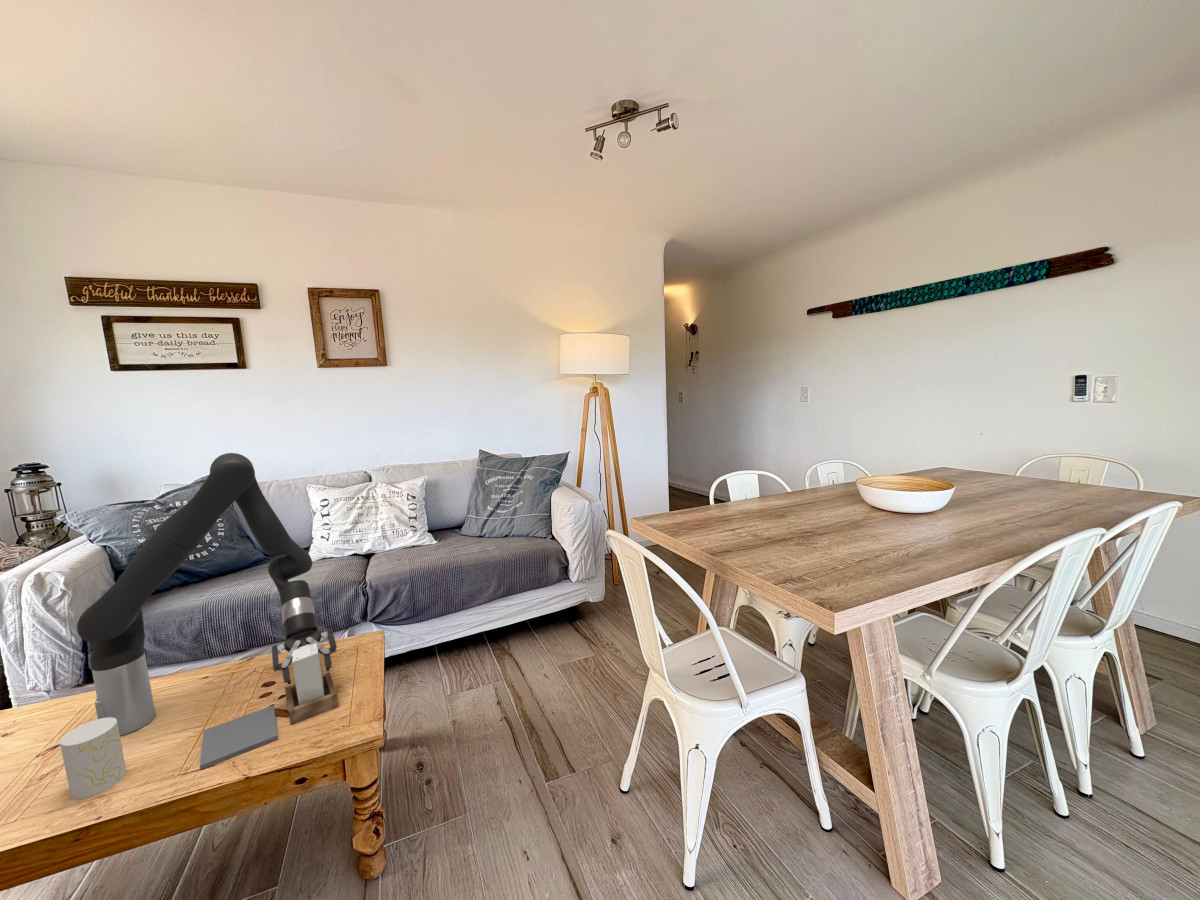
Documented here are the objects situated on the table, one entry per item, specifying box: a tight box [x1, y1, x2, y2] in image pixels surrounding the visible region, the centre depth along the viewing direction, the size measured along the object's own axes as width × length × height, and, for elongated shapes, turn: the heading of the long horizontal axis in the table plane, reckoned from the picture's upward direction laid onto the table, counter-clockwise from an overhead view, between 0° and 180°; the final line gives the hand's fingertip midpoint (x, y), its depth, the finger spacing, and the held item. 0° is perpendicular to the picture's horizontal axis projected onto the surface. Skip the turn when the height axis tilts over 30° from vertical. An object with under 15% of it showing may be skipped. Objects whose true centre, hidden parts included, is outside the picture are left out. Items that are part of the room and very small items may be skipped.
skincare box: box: [291, 643, 325, 706], centre depth 122 cm, size 8×6×15 cm
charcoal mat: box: [199, 704, 279, 771], centre depth 112 cm, size 14×14×1 cm
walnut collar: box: [284, 671, 339, 726], centre depth 123 cm, size 10×12×4 cm
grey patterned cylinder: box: [59, 717, 127, 800], centre depth 99 cm, size 8×8×12 cm
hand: (309, 676), depth 121 cm, fingers open, 8 cm apart
